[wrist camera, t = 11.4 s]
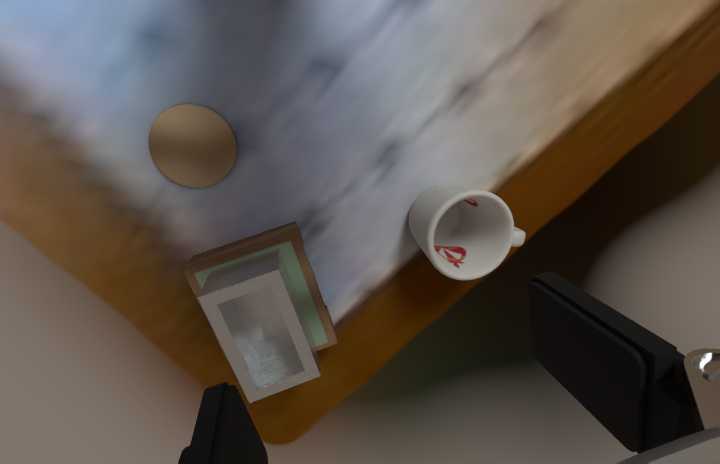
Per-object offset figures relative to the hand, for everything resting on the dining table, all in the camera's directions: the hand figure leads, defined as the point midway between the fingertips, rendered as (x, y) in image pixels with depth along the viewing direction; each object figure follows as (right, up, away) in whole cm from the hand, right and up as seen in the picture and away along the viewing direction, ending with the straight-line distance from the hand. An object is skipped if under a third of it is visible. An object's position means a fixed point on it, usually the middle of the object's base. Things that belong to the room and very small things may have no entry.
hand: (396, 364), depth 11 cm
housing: (-10, -3, +22) cm, 24 cm away
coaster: (-15, +11, +21) cm, 28 cm away
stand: (-10, -2, +26) cm, 28 cm away
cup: (+8, +6, +28) cm, 30 cm away
